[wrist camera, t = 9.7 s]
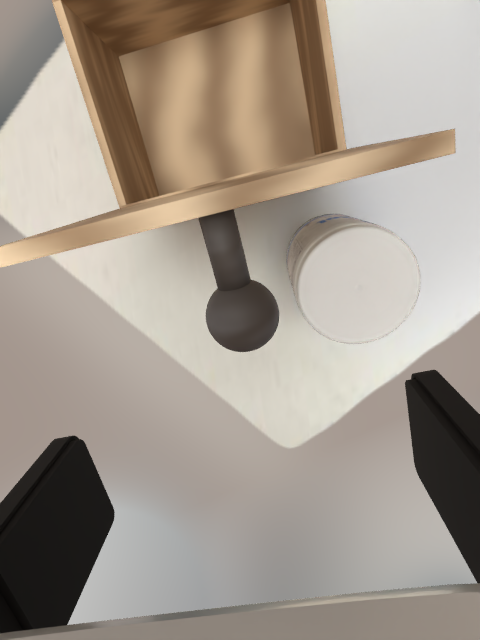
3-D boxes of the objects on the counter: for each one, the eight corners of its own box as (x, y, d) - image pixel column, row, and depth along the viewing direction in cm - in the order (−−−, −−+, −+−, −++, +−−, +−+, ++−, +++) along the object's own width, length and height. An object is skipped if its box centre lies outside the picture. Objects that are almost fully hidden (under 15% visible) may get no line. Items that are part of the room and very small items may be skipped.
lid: (454, 128, 13) (460, 327, 16) (350, 148, 27) (363, 252, 30) (-11, 249, 15) (66, 405, 18) (115, 209, 29) (147, 301, 32)
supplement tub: (373, 211, 40) (433, 220, 26) (368, 296, 43) (420, 344, 30) (283, 215, 41) (295, 227, 27) (284, 299, 44) (296, 348, 30)
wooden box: (294, -3, 35) (311, -99, 23) (321, 166, 39) (347, 155, 28) (113, 54, 37) (49, -8, 26) (159, 208, 41) (121, 214, 30)
